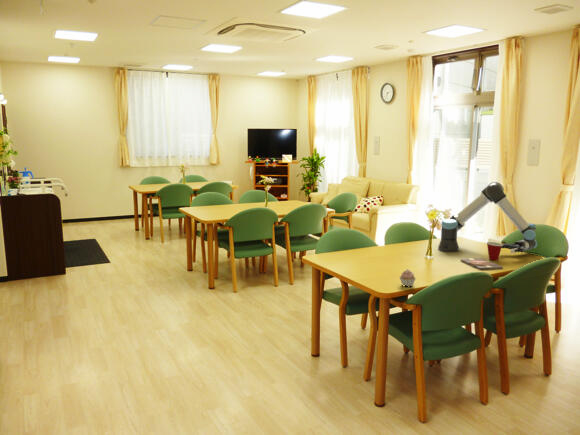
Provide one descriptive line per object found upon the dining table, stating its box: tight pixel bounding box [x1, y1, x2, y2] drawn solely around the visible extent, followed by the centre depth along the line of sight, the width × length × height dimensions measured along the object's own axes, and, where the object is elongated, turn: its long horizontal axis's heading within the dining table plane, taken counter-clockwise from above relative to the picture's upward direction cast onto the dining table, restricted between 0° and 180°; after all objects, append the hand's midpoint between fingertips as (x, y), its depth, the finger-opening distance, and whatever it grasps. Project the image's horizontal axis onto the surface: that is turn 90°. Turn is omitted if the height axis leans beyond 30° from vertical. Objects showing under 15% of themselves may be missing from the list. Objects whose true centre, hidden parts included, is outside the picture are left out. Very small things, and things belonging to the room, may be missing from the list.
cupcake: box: [399, 268, 417, 287], centre depth 268 cm, size 9×9×10 cm
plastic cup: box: [486, 241, 504, 262], centre depth 325 cm, size 11×11×12 cm
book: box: [460, 257, 504, 271], centre depth 312 cm, size 24×16×2 cm, turn 10°
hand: (502, 249), depth 329 cm, fingers open, 13 cm apart
